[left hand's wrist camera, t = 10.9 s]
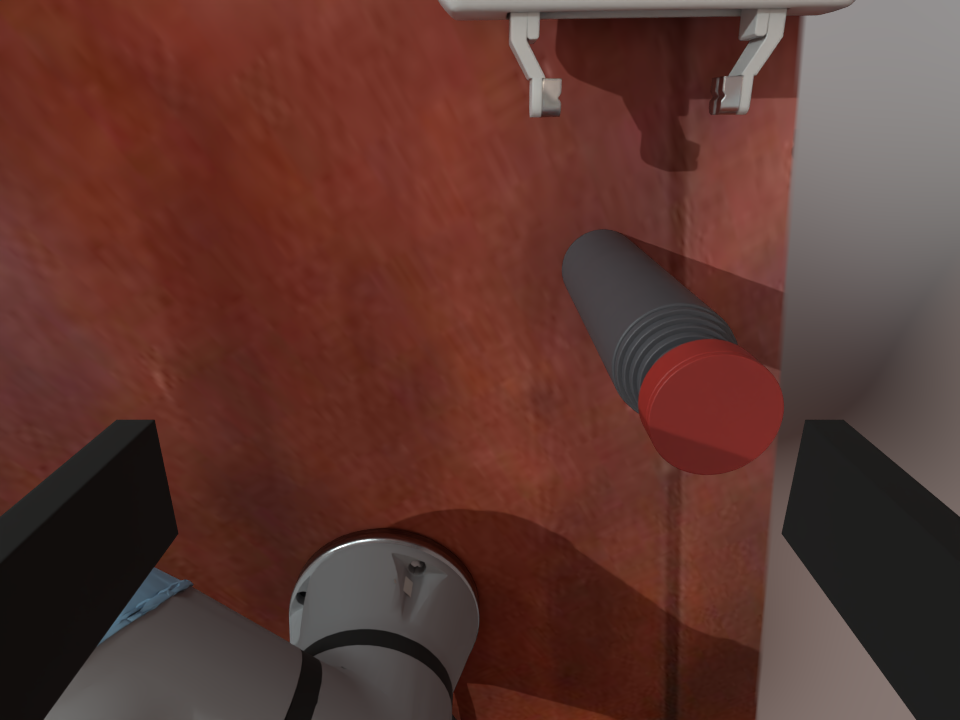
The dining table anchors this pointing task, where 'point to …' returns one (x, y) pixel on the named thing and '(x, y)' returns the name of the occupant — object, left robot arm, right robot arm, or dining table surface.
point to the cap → (710, 407)
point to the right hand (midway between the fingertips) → (636, 116)
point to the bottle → (633, 308)
